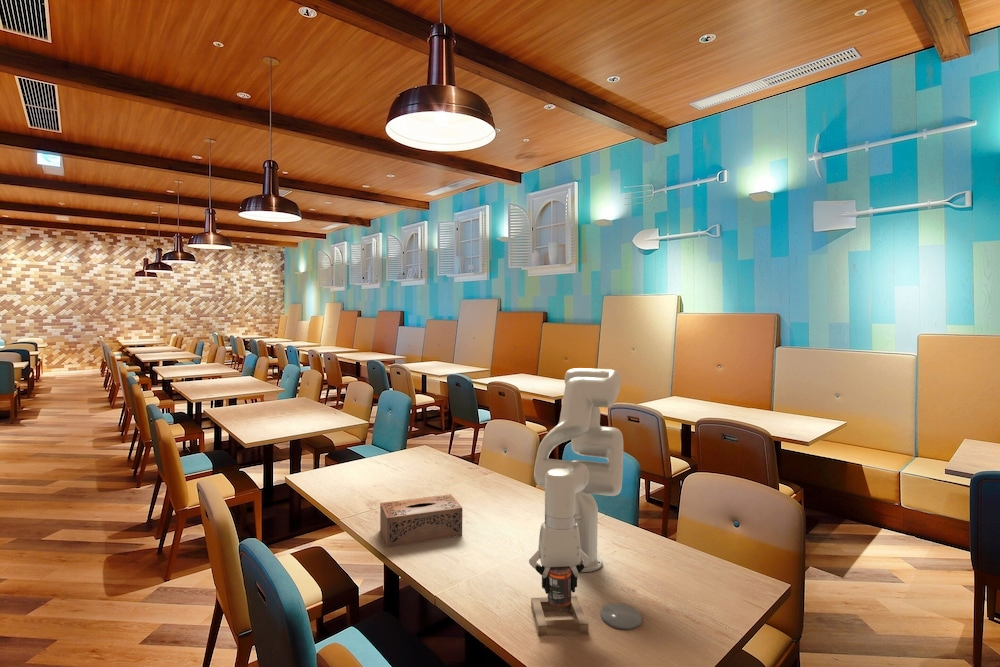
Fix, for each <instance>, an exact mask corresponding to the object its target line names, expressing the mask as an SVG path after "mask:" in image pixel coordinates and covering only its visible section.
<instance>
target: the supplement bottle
mask: <svg viewBox="0 0 1000 667" xmlns="http://www.w3.org/2000/svg"><path fill="white" fill-rule="evenodd" d="M548 577H549V593H548V594H547V597H548V602H549V603H550V604H551V605H553V606H555V607H565V606H568V605H569V604H570V603H571V596H572V591H571V567H570V566H568V567H550V570H549V572H548Z"/></svg>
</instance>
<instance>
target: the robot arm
mask: <svg viewBox="0 0 1000 667" xmlns="http://www.w3.org/2000/svg"><path fill="white" fill-rule="evenodd" d="M564 384H565V386H564V392H563V398H562V404H561V410H560V415H559V421H558V423H557V425H555V426H554V427H553V428H552V429H551V430H549V431H548V432H547V433H546V434H545V435H544V437H543V438H542V440H541V441H540V444H539V445H538V448H537V453H536V458H535V462H534V469H533V478H534V481H535V482H534V483H535V484H537V486H539V487H541V488H544V521H543V522H541V523H540V524H541V525H540V530H539V535H538V536H539V538H538V549H537V551H536V552H535V553H534V554H533V555H532V556H531V557H530V558H529V560H528V563H529V565H530V566H531V567H532V568H533V569H534V570H535V571H536V572H537V573H538V574H539V575H540V576H541V588H542V589H543V590H544V592H545V594H546V595H548V593H549V577H548V572H549V570H550V567H568V566H570V567H571V593H576V588H578V577H579V575H580V574H581V573H590V572H594V571H597V570H599V569H600V568H602V566H603V559H602V557H601V556H600V555H599V554H598V529H599V528H598V525H599V524H598V523H599V522H598V520H599V518H598V517H599V516H598V515H599V508H598V503H597V502H596V499H595V498H594V497H593V495H599V496H600V495H601V496H607V497H608V496H611V497H615V496H618V495H619V494H620V493H621V490H622V487H623V476H624V474H623V470H624V466H623V465H624V436H623V433H622V431H621V430H620V429H619V428H618V427H614V426H613V427H612V426H603V425H601V424H600V423H601V409H600V408H612V407H613V406H614V405H615V403H616V401H617V399H618V397H619V394H620V391H621V388H622V387H621V385H622V379H621V375H620V373H619V372H618V370H615V369H611V368H590V367H585V368H584V367H577V368H576V367H575V368H570V369H568V370H567V371H566V372H565V374H564ZM568 441H571V442H570V443H571V450H572V452H573V453H574V454H575V455H579V456H583V457H585V456H586V457H591V458H601V459H606V460H607V462H602V461H593V460H584V459H574V460H566V459H565V460H564V459H563V460H562V459H554V458H549V456H550V454H551V453H552V451H553V450H554V449H555V448H556V447H557V446H559V445H561V444H562V443H565V442H568ZM538 561H540V564H539V563H538Z"/></svg>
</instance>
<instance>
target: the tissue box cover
mask: <svg viewBox="0 0 1000 667" xmlns="http://www.w3.org/2000/svg"><path fill="white" fill-rule="evenodd" d="M379 508H380V510H379V511H380V513H379V515H380V517H379V519H380V520H379V521H380V522H379V523H380V527H379V528H380V529H379V530H380V533H381V535H382V538H383V541H384V543H385V545H386V548H392V547H398V546H405V545H411V544H417V543H423V542H429V541H435V540H442V539H448V538H455V536H456V537H461V536H463V507H462V505H461V504H460V503H459V502H458V500H456V499H455V498H454V496H453V495H452V494H451V493H447V494H442V495H441V494H440V495H434V496H433V495H432V496H425V497H424V496H423V497H418V498H410V499H401V500H392V501H386V502H385V501H384V502H380V506H379Z"/></svg>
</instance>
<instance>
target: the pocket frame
mask: <svg viewBox="0 0 1000 667" xmlns="http://www.w3.org/2000/svg"><path fill="white" fill-rule="evenodd" d="M530 600H531V602H530V603H531V604H530V605H531V606H530V609H531V612H532V615H533V619H534V623H535V628H536V632H537V636H538V637H548V636H550V637H551V636H568V635H569V636H570V635H571V636H572V635H588V634H589V622H588V620H587V618H586V615H585V613H584V610H583V607H582V606H581V602H579V599H578V597H577V595H571V603H570V604H569V605H568V606H565V607H555V606H553V605H551V604H550V603H549V602H548V596H546V597H545V596H544V597H531V598H530ZM558 611H559V612H560V611H562V612H563V611H570V612H571V615H572V617H573V618H572V619H550V620H549V619H548V620H547V619H546V618H545V614H544V612H558Z"/></svg>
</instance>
